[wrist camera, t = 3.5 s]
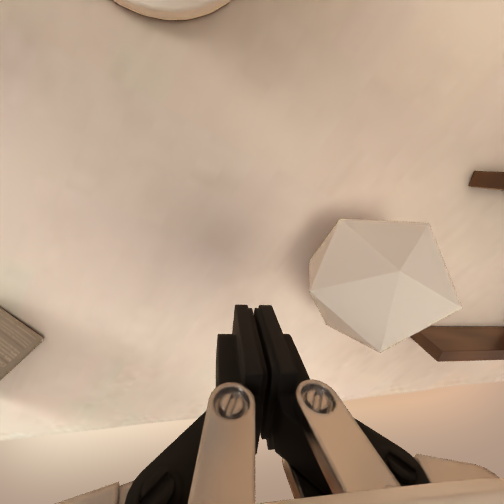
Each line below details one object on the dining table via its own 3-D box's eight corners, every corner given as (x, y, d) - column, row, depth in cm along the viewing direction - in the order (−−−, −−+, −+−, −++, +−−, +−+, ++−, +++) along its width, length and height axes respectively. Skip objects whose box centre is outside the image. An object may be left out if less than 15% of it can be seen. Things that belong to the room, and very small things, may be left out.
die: (310, 315, 23) (437, 376, 17) (260, 295, 16) (438, 385, 10) (343, 236, 24) (475, 264, 18) (308, 187, 17) (501, 202, 11)
